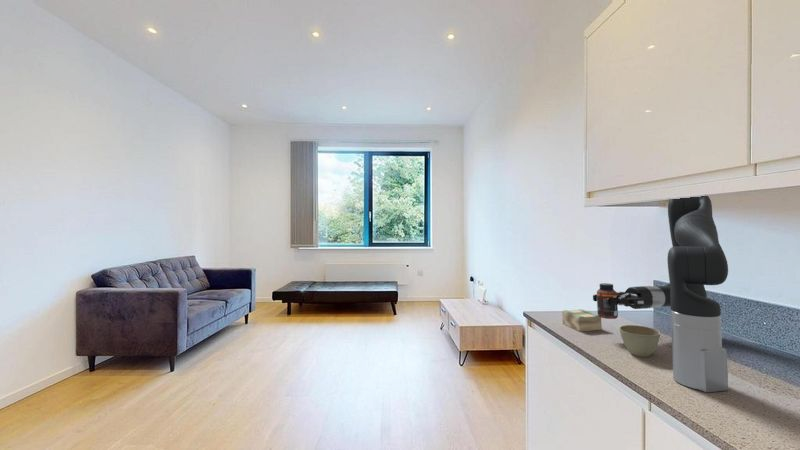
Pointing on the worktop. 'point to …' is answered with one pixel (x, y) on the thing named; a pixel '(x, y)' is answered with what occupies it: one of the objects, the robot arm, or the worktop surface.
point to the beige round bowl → (639, 339)
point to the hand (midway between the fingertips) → (600, 299)
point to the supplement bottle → (602, 295)
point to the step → (581, 320)
